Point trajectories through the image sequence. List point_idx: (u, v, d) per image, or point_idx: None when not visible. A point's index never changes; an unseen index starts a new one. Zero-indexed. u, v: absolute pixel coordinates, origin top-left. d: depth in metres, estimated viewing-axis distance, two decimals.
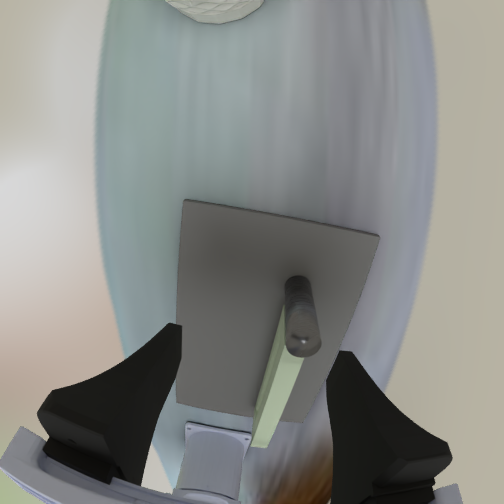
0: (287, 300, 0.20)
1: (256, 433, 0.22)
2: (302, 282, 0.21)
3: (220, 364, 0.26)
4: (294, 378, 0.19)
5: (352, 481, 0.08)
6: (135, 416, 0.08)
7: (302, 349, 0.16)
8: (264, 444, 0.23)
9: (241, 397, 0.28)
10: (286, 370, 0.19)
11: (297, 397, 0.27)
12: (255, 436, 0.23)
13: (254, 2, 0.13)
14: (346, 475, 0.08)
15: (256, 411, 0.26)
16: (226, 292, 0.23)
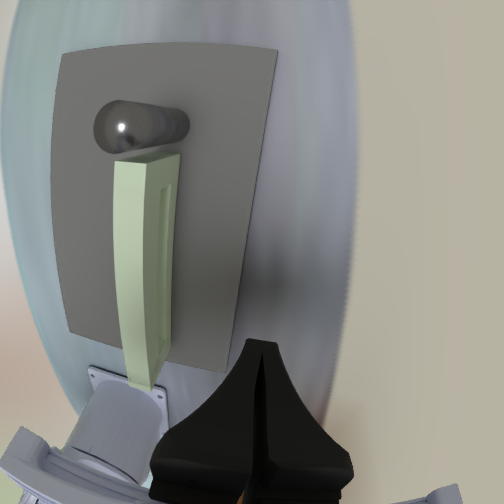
0: None
1: (125, 358, 0.15)
2: (169, 107, 0.14)
3: (99, 262, 0.19)
4: (140, 231, 0.12)
5: (252, 478, 0.08)
6: None
7: (114, 136, 0.09)
8: (144, 384, 0.16)
9: None
10: (125, 214, 0.12)
11: (205, 322, 0.20)
12: (127, 365, 0.16)
13: None
14: (250, 471, 0.08)
15: None
16: (94, 146, 0.16)
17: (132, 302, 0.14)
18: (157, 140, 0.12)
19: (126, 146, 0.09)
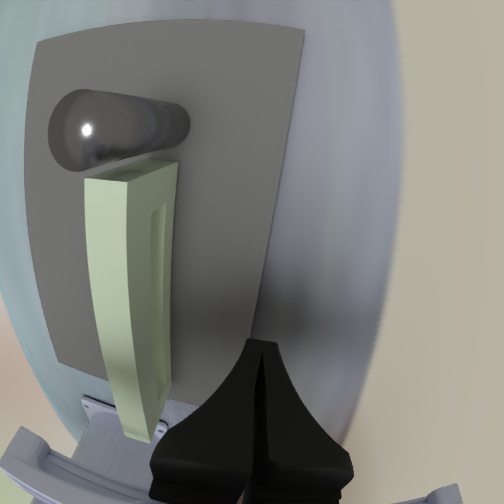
0: None
1: (118, 411, 0.12)
2: None
3: (84, 291, 0.15)
4: (124, 275, 0.09)
5: (252, 478, 0.08)
6: None
7: (76, 144, 0.06)
8: (142, 436, 0.13)
9: None
10: (103, 251, 0.08)
11: (211, 362, 0.16)
12: (121, 417, 0.12)
13: None
14: (250, 471, 0.08)
15: None
16: None
17: (121, 357, 0.10)
18: (143, 147, 0.08)
19: (92, 160, 0.06)
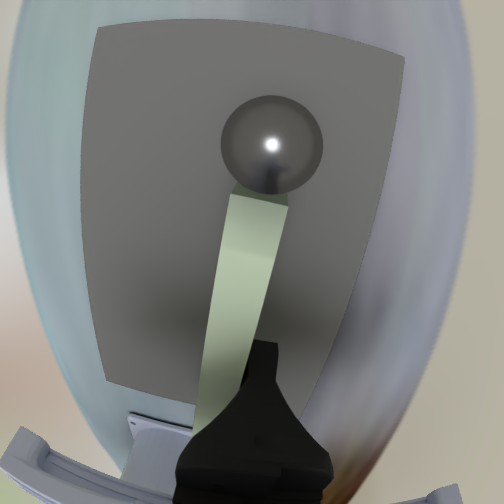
0: None
1: (194, 431, 0.12)
2: None
3: (153, 308, 0.15)
4: (259, 301, 0.09)
5: None
6: None
7: (269, 162, 0.06)
8: None
9: (195, 373, 0.17)
10: (238, 276, 0.08)
11: (288, 374, 0.16)
12: None
13: None
14: None
15: None
16: (150, 158, 0.12)
17: (223, 381, 0.10)
18: None
19: (292, 183, 0.06)
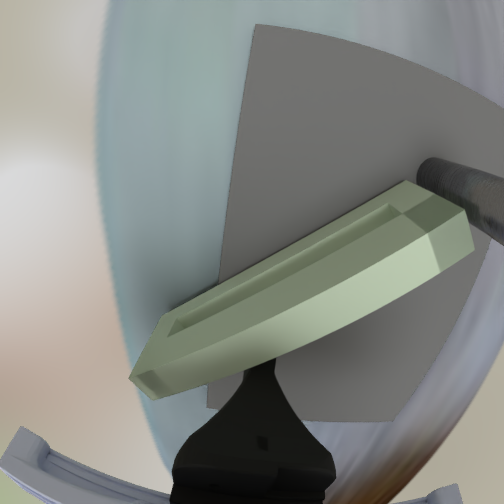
0: (449, 176, 0.09)
1: (173, 363, 0.10)
2: None
3: None
4: (401, 292, 0.08)
5: None
6: None
7: None
8: (157, 392, 0.11)
9: (316, 391, 0.17)
10: (413, 263, 0.08)
11: (399, 381, 0.16)
12: (163, 367, 0.10)
13: None
14: None
15: (175, 320, 0.14)
16: (323, 184, 0.12)
17: (287, 336, 0.09)
18: None
19: None
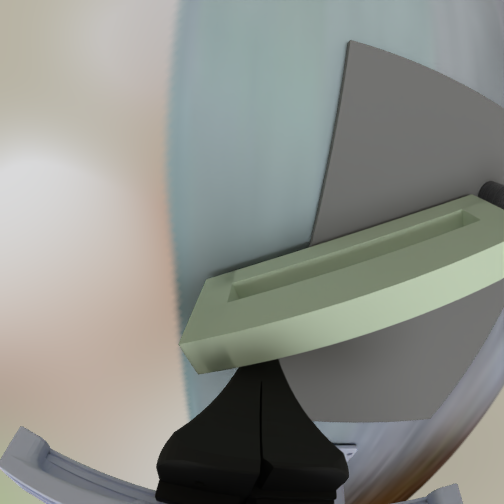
0: None
1: (251, 330, 0.09)
2: None
3: (361, 342, 0.15)
4: (481, 286, 0.08)
5: None
6: None
7: None
8: (210, 365, 0.10)
9: (371, 394, 0.17)
10: (495, 261, 0.08)
11: (442, 381, 0.16)
12: (234, 334, 0.09)
13: None
14: None
15: None
16: (405, 203, 0.12)
17: (386, 312, 0.09)
18: None
19: None
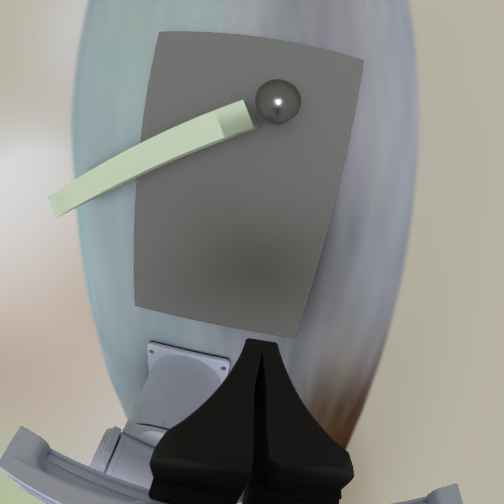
0: None
1: (74, 182, 0.15)
2: None
3: (186, 230, 0.21)
4: (197, 145, 0.14)
5: (252, 478, 0.08)
6: None
7: (277, 107, 0.12)
8: (60, 208, 0.16)
9: (213, 289, 0.23)
10: (204, 127, 0.14)
11: (285, 288, 0.23)
12: (68, 185, 0.15)
13: None
14: (250, 471, 0.08)
15: None
16: None
17: (132, 164, 0.15)
18: None
19: (287, 117, 0.12)
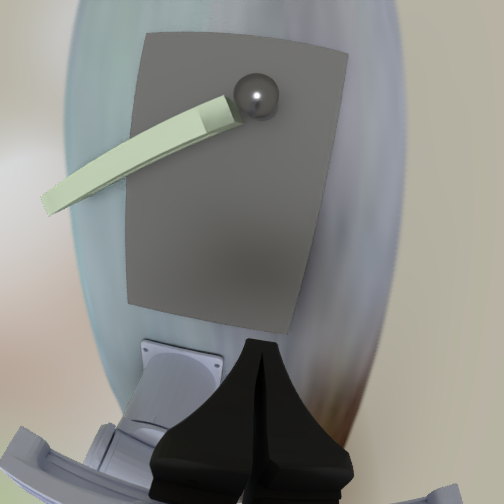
0: None
1: (64, 181, 0.15)
2: None
3: (175, 228, 0.21)
4: (180, 141, 0.14)
5: (252, 478, 0.08)
6: None
7: (255, 101, 0.12)
8: (52, 208, 0.16)
9: (204, 285, 0.23)
10: (186, 123, 0.14)
11: (276, 283, 0.23)
12: (58, 185, 0.16)
13: None
14: (250, 471, 0.08)
15: None
16: None
17: (118, 162, 0.15)
18: (272, 112, 0.14)
19: (265, 110, 0.12)
